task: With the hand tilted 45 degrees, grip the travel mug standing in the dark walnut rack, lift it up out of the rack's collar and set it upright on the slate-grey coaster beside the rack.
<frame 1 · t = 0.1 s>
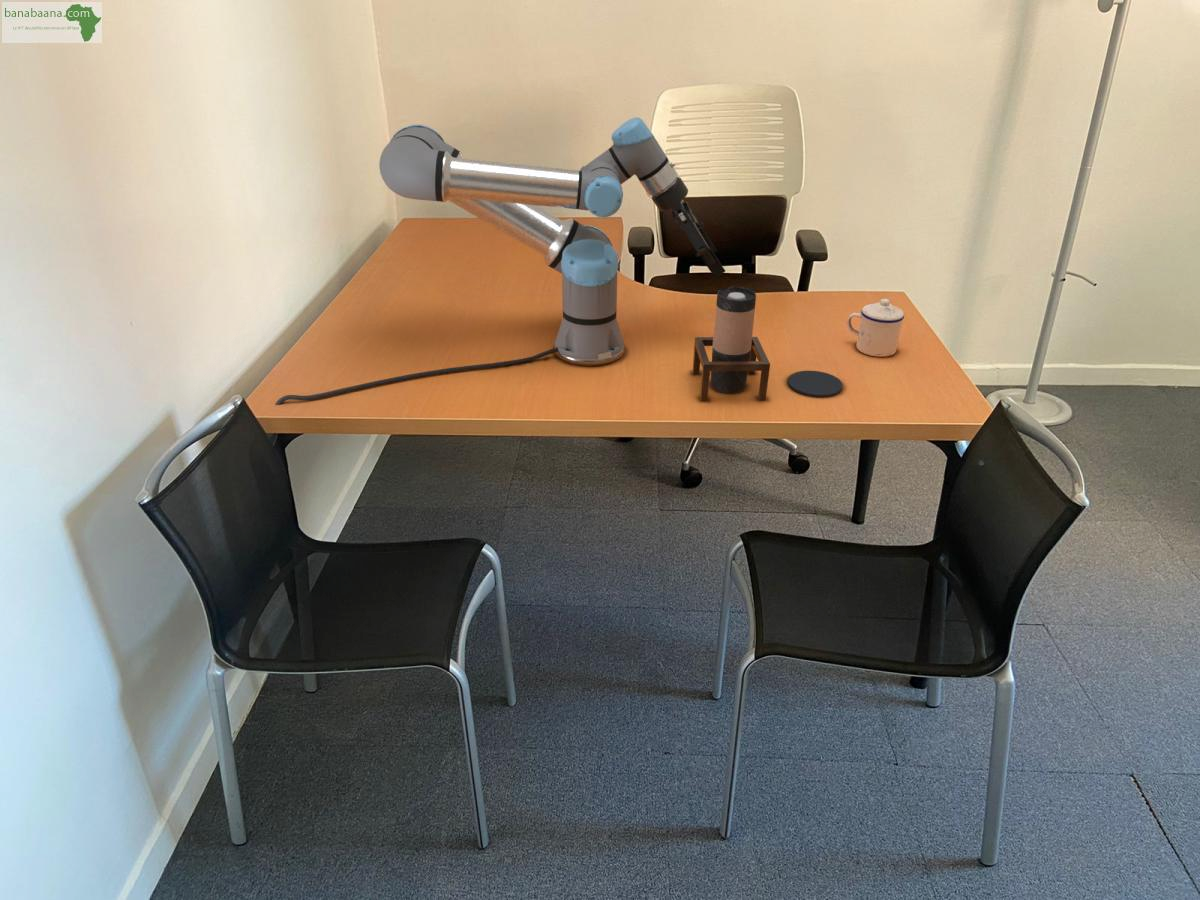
hand: (715, 263, 196), 15 cm above the table, tool tilted 35°, fingers open, 13 cm apart
travel mug: (727, 386, 178), on the table
teacup with lid: (869, 348, 195), on the table
coaster: (814, 384, 179), on the table
rack: (728, 385, 178), on the table
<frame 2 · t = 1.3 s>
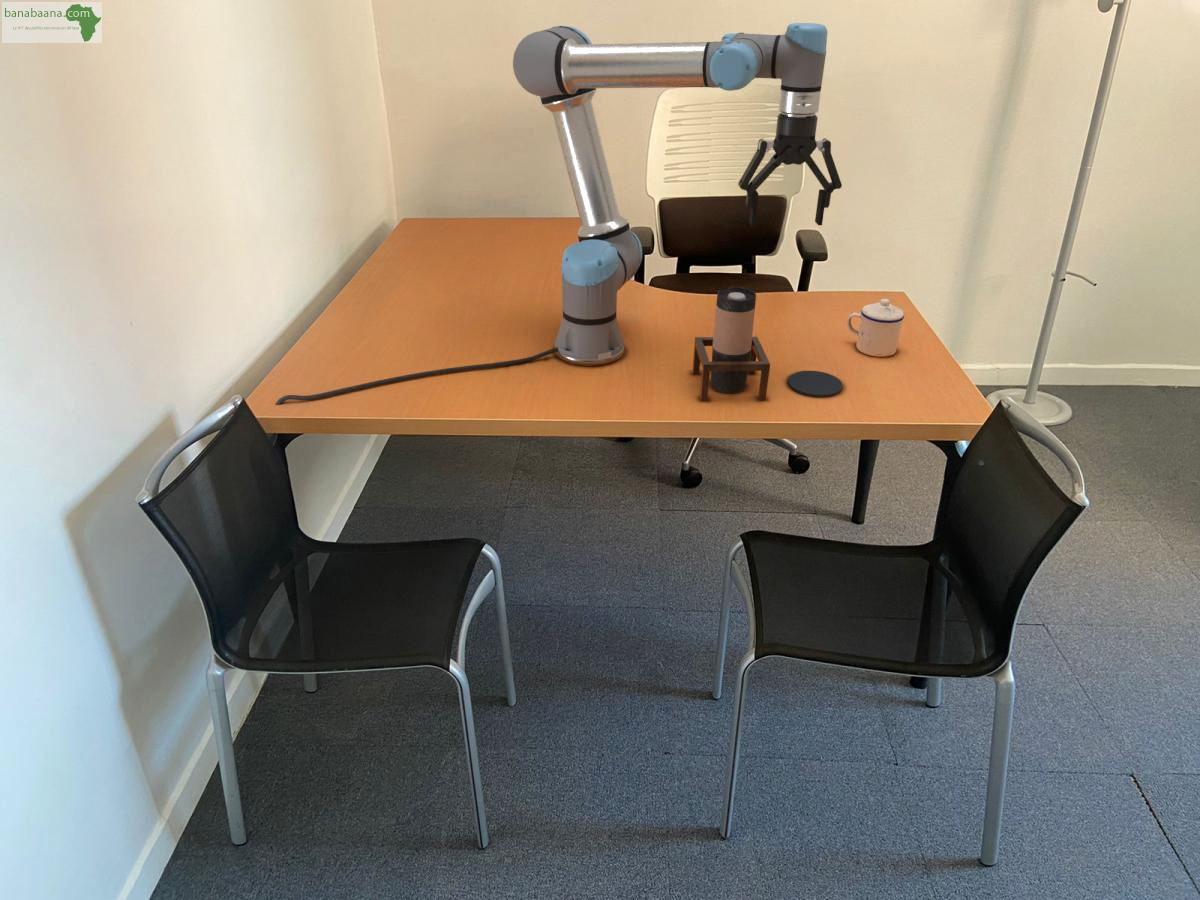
hand: (785, 224, 176), 29 cm above the table, tool pointing down, fingers open, 13 cm apart
nothing on the table moved.
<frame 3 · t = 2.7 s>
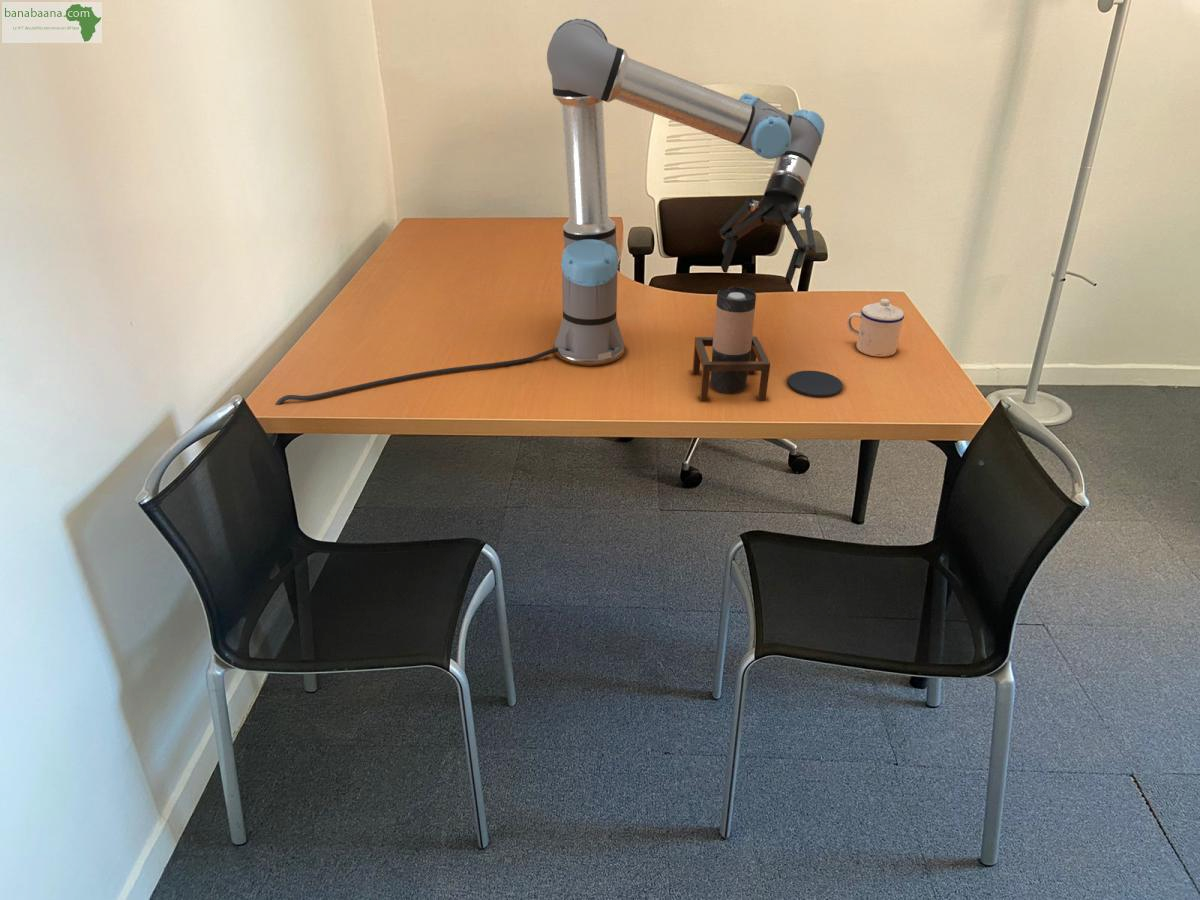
hand: (755, 275, 175), 20 cm above the table, tool tilted 45°, fingers open, 13 cm apart
nothing on the table moved.
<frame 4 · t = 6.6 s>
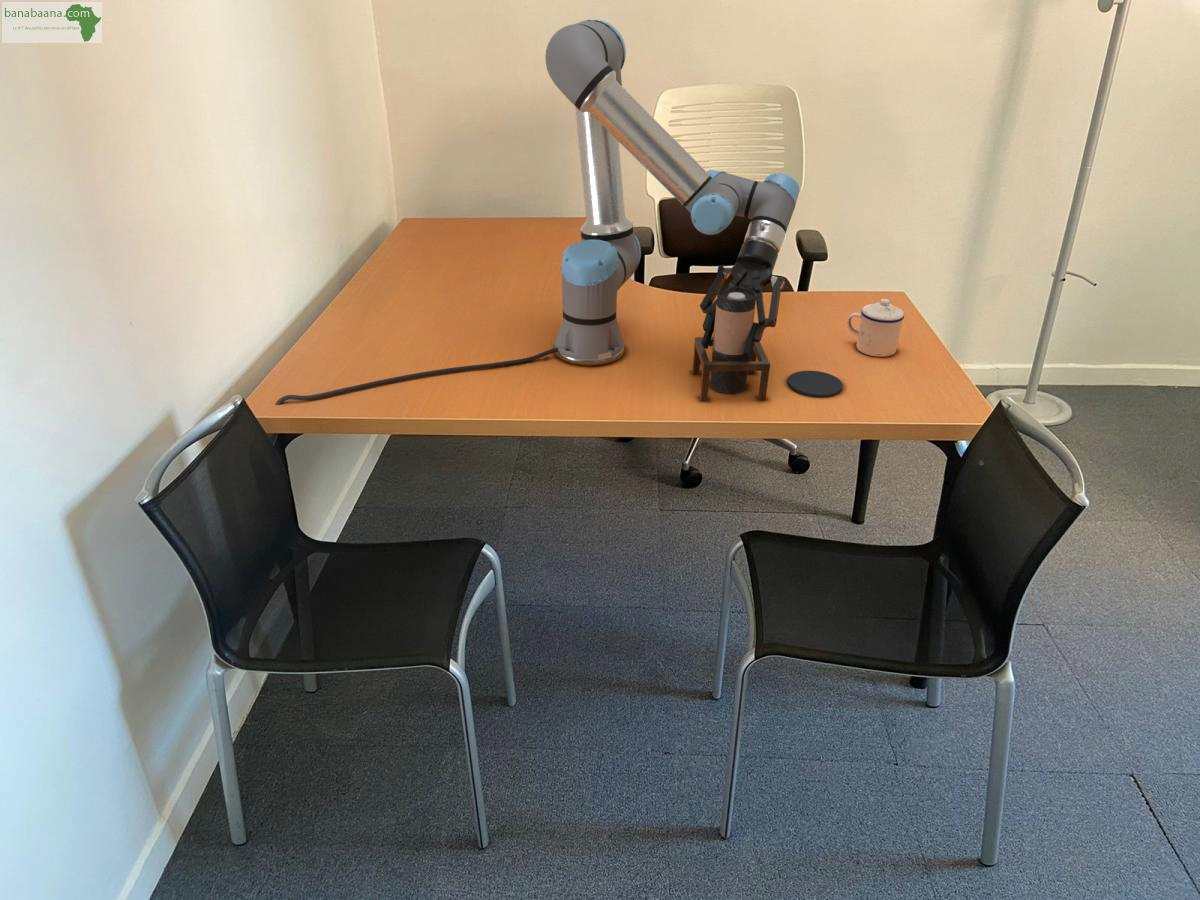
hand: (725, 350, 171), 9 cm above the table, tool tilted 45°, fingers open, 8 cm apart
nothing on the table moved.
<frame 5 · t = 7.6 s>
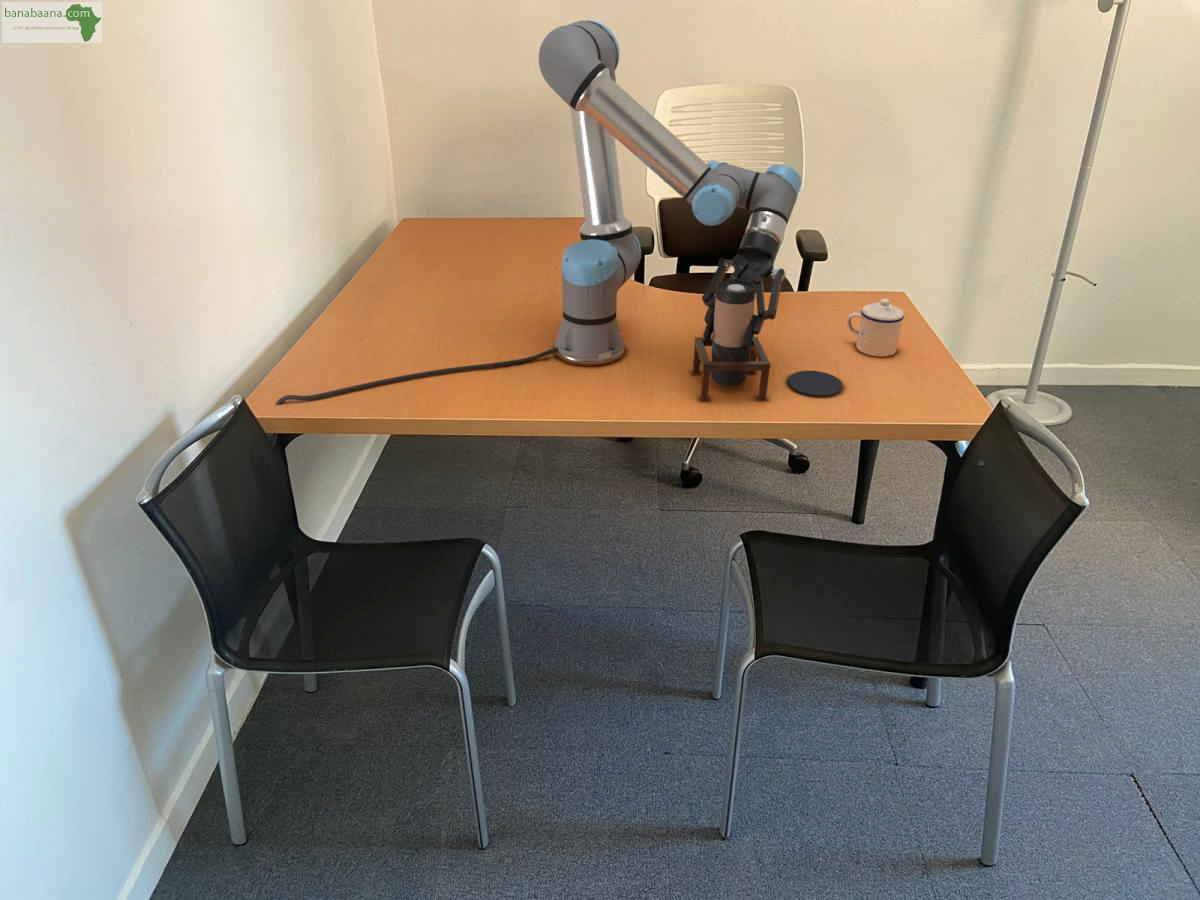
hand: (725, 342, 170), 11 cm above the table, tool tilted 45°, fingers closed on travel mug, 7 cm apart
travel mug: (728, 379, 177), point 1 cm above the table, touching gripper
everything else where it was.
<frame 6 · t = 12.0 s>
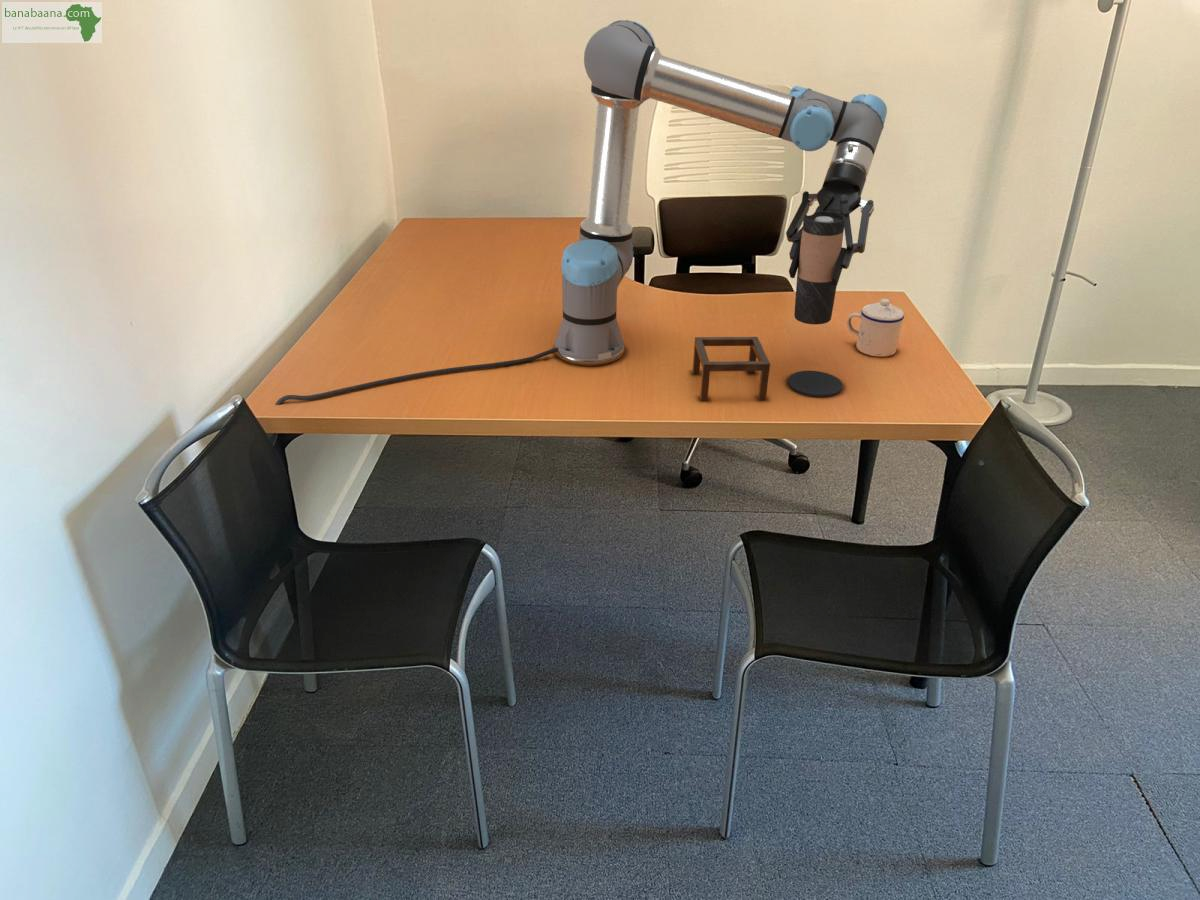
hand: (812, 278, 163), 24 cm above the table, tool tilted 45°, fingers closed on travel mug, 7 cm apart
travel mug: (812, 318, 171), point 15 cm above the table, touching gripper
everything else where it was.
when the fingers open (10 cm above the table, at t = 16.4 s): travel mug stays where it is, resting on coaster.
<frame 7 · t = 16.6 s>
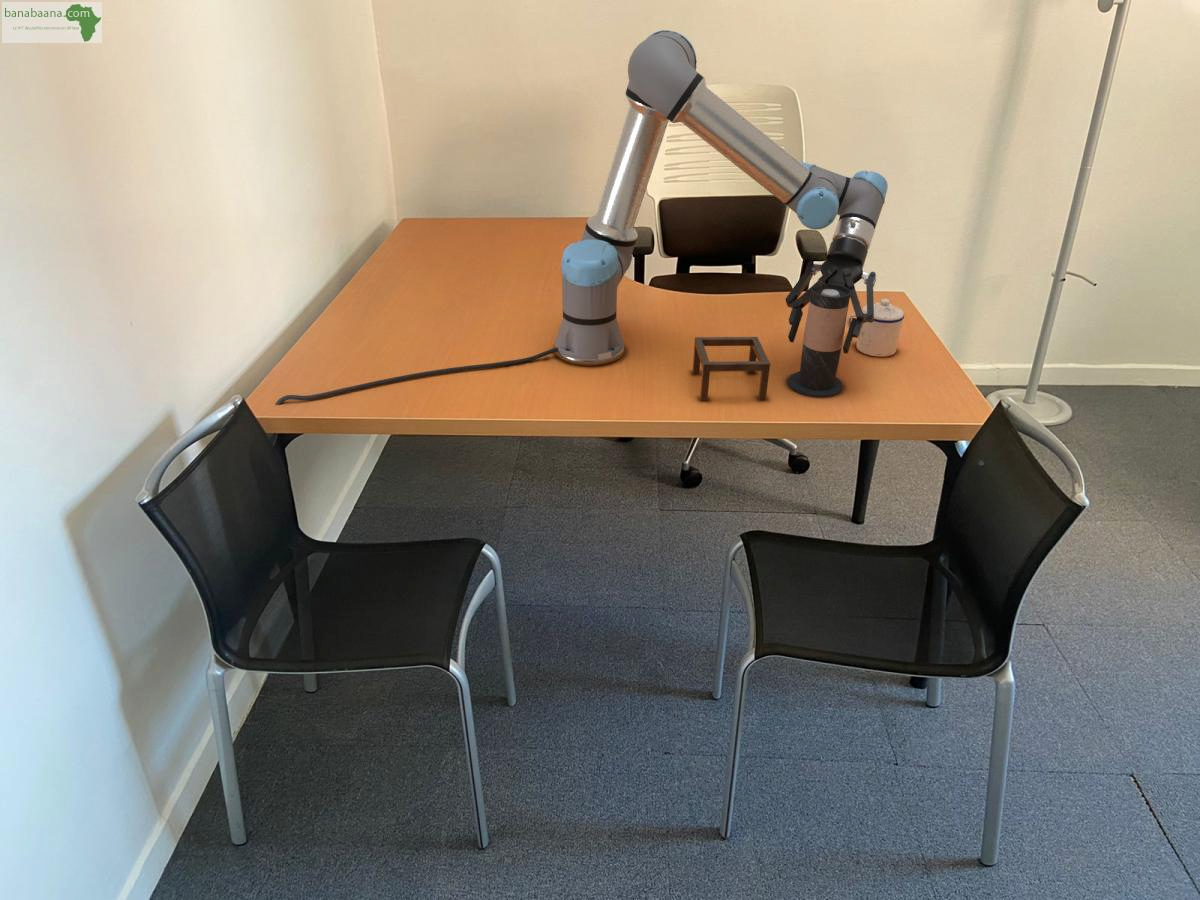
hand: (817, 345, 171), 10 cm above the table, tool tilted 45°, fingers open, 10 cm apart
travel mug: (816, 383, 178), resting on coaster
everything else where it was.
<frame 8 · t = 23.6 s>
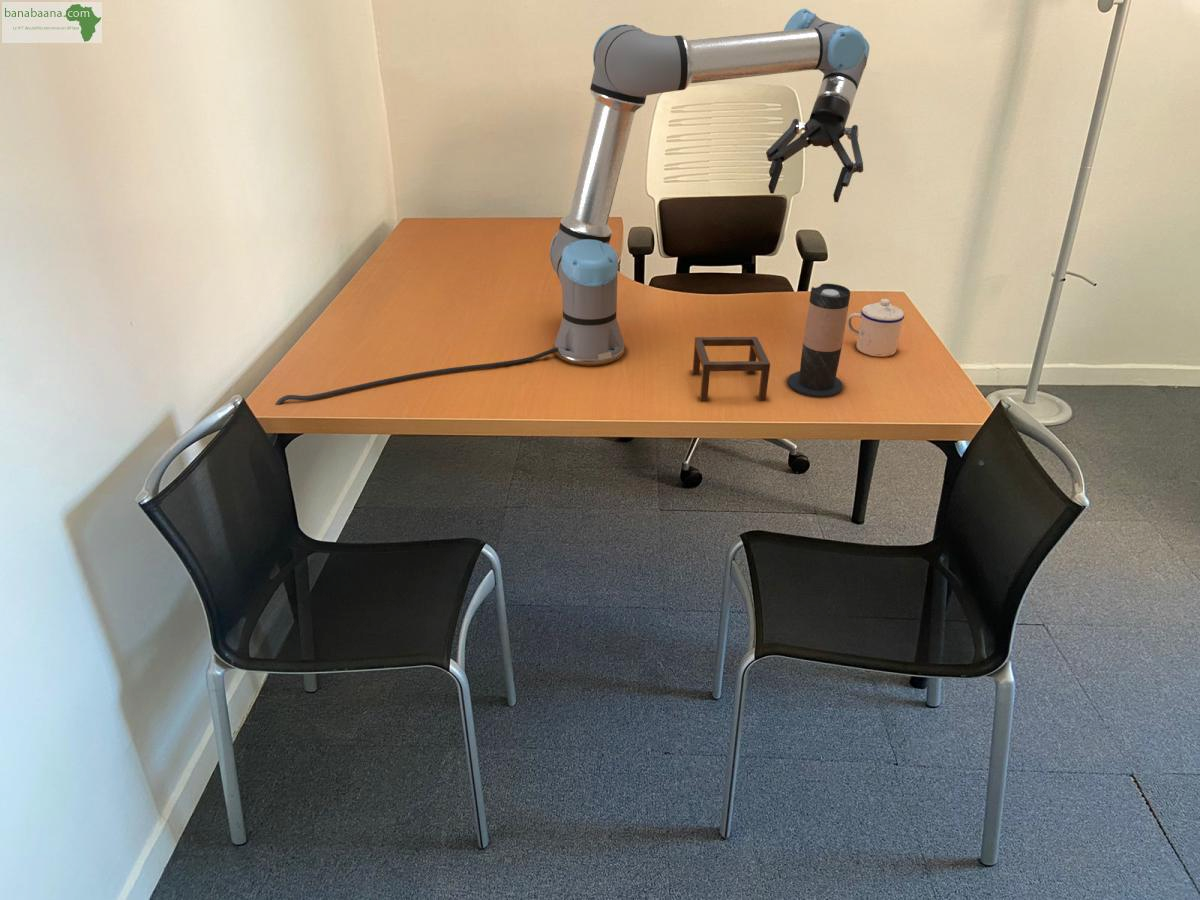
hand: (802, 194, 178), 34 cm above the table, tool tilted 45°, fingers open, 13 cm apart
nothing on the table moved.
at the end: travel mug inside the target area on the coaster (0.3 cm from its centre), point 0.4 cm above the coaster's base; travel mug tilted 0°; the gripper is holding nothing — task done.
